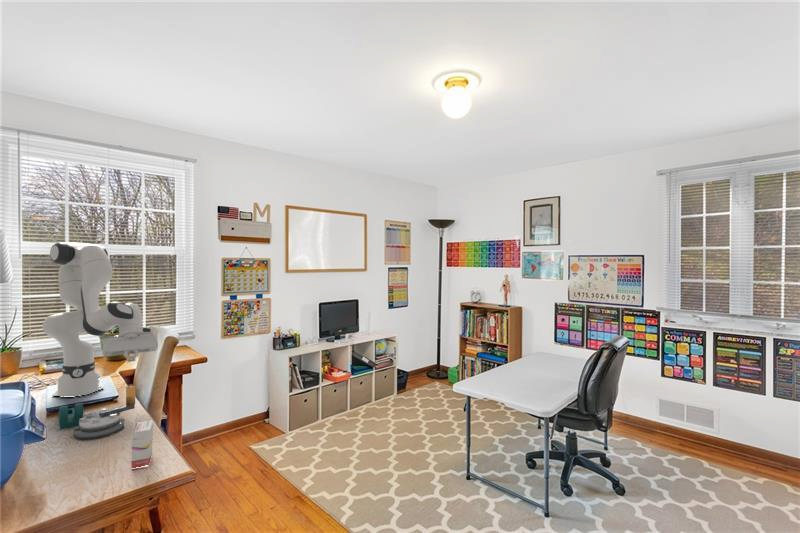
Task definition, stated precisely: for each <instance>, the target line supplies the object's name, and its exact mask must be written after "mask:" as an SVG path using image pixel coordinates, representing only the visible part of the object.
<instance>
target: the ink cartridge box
mask: <svg viewBox="0 0 800 533" xmlns="http://www.w3.org/2000/svg"><path fill="white" fill-rule="evenodd" d="M138 414H139V413H136V415H135V417H134V419H133V421H132V426H131V427H132V428H131V455H130V456H131V457H130V458H131V468H136V467H141V466H145V465H149V463H150V464H151V461H152V458H151V456H152V457H153V434H154V433H153V432H154V420H152V419H151V420H144V421H138V416H139V415H138ZM150 460H151V461H150ZM149 466H150V465H149Z"/></svg>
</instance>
